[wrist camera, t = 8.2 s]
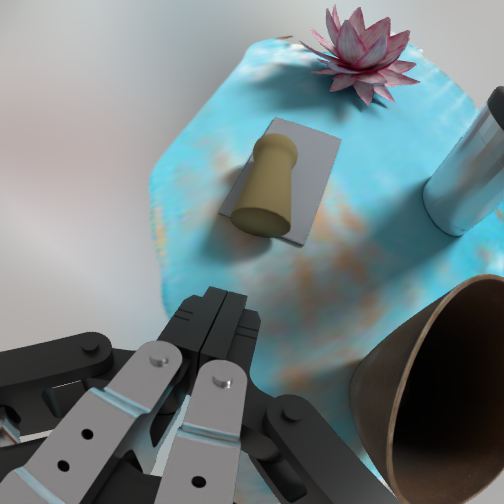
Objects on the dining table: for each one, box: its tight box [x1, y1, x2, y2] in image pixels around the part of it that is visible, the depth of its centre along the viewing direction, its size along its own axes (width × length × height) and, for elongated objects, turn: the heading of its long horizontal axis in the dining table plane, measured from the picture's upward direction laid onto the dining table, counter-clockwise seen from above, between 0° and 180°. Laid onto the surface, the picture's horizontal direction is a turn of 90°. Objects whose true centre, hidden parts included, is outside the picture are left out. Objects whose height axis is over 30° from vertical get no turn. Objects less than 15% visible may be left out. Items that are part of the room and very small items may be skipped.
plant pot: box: [349, 274, 504, 504], centre depth 16 cm, size 15×15×16 cm
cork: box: [230, 133, 298, 237], centre depth 29 cm, size 6×6×11 cm
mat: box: [219, 117, 342, 246], centre depth 32 cm, size 18×10×1 cm, turn 156°
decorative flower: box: [300, 5, 420, 105], centre depth 34 cm, size 21×21×15 cm
